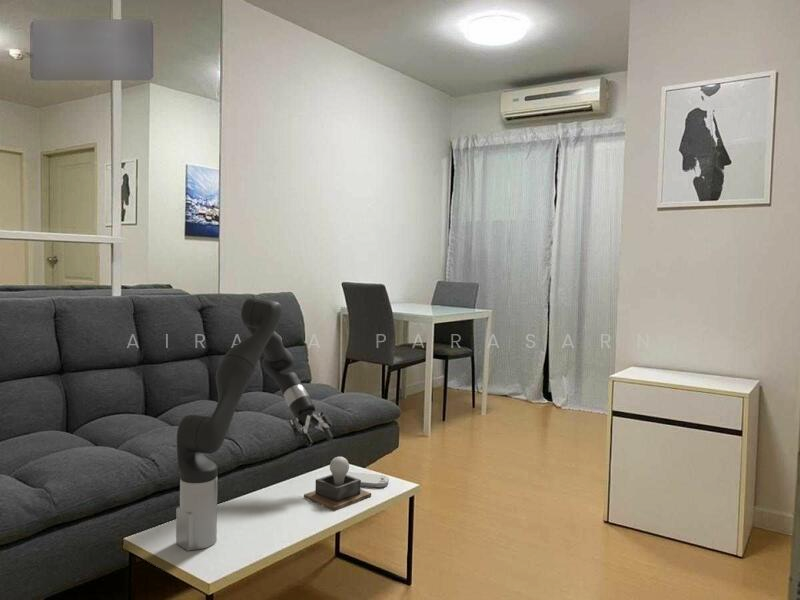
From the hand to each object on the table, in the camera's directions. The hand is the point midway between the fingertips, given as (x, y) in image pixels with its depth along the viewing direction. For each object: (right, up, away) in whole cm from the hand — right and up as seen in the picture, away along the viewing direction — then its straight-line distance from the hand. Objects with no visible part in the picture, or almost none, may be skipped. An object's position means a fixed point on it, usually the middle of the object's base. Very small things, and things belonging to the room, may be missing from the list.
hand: (321, 442), depth 197 cm
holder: (+6, -16, -5) cm, 18 cm away
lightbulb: (+6, -15, -4) cm, 16 cm away
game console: (+13, -16, +9) cm, 22 cm away
